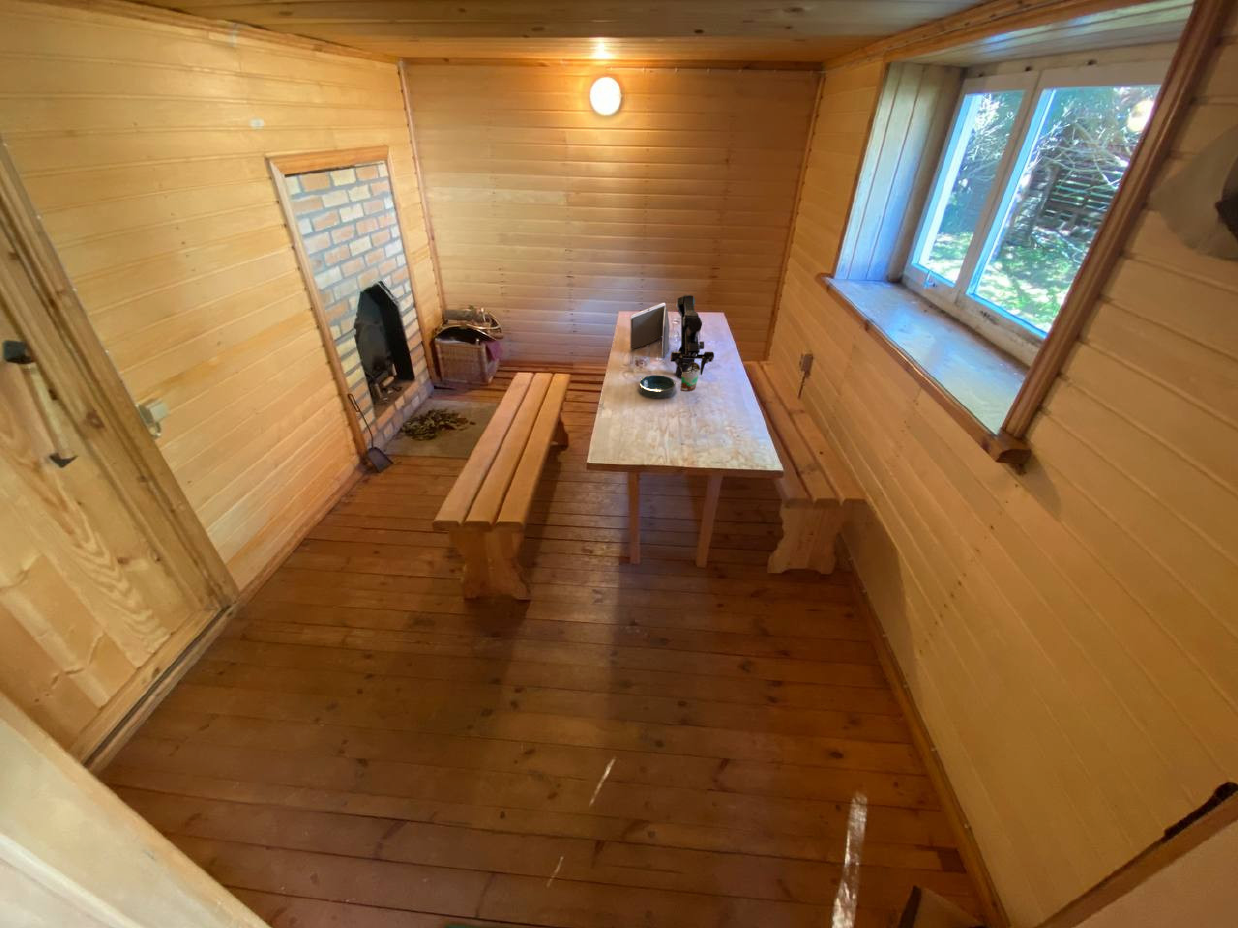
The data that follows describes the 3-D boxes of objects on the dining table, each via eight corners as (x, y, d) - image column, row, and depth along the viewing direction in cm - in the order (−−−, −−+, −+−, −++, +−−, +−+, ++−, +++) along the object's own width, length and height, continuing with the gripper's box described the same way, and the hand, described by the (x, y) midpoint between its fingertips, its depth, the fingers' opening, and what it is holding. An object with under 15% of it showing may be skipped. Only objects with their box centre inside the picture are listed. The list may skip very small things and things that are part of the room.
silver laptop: (668, 359, 272) (671, 323, 261) (628, 357, 273) (629, 322, 262) (668, 335, 301) (670, 302, 290) (631, 334, 302) (632, 301, 291)
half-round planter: (691, 396, 224) (694, 376, 218) (679, 392, 227) (681, 372, 220) (702, 384, 233) (705, 364, 226) (690, 380, 235) (692, 360, 229)
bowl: (664, 380, 251) (665, 372, 249) (681, 394, 238) (682, 387, 236) (633, 386, 245) (633, 378, 243) (648, 401, 232) (649, 393, 230)
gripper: (672, 334, 219) (673, 368, 216) (716, 334, 219) (717, 368, 217) (670, 344, 230) (670, 377, 227) (711, 344, 230) (712, 377, 228)
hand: (692, 375), depth 224 cm, fingers closed on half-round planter, 7 cm apart
